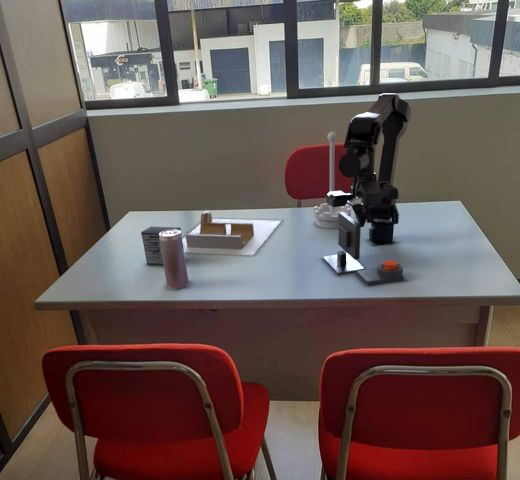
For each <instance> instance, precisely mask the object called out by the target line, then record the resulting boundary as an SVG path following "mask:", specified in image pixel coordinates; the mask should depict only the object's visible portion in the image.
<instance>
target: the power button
mask: <svg viewBox="0 0 520 480" xmlns="http://www.w3.org/2000/svg"><path fill="white" fill-rule="evenodd" d="M383 263H384V266H383V269H385V270H396V269H397V266H398V264H399V262H398V261H396V260H394V259H387V260H385V261H383Z"/></svg>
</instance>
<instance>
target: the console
mask: <svg viewBox="0 0 520 480" xmlns="http://www.w3.org/2000/svg"><path fill="white" fill-rule="evenodd" d="M383 266H384V262H383V263H380V264H378V266H377V267H374V268H365V270H359V271H357V272H356V275H355V276H357V277H358V278H359V279H360V280H361V281H362V282H363V283H364V284H365V285H366V286H367V287H371V286H377V285H383V284H391V283H396V282H402V281H404V278H405V277H404V274H403V273H404V266H403V265H402V264H401V263H398V266H397V269H396V270H385V269H383Z"/></svg>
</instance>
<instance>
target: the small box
mask: <svg viewBox="0 0 520 480" xmlns="http://www.w3.org/2000/svg"><path fill="white" fill-rule="evenodd" d="M172 229H175V230H179V231H180V232H181V235H182V229H181V227H178V226H177V227H173V226H150V227H148V228H146V229H144V230H142V231H141V232H140V234H141V238H142V244H143V249H144V255H145V261H146V265H147V266H154V267H164V264H163V258H162V252H161V246H160V240H159V233H160V232H162V231H165V230H172Z"/></svg>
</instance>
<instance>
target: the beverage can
mask: <svg viewBox="0 0 520 480" xmlns="http://www.w3.org/2000/svg"><path fill="white" fill-rule="evenodd" d="M181 234H182V231H181V232H180V231H179V230H175V229H172V230H165V231H162V232H160V233H159V240H160V246H161V252H162V258H163V264H164V266H163V269H164V275H165V281H166V286H167V287H168V288H170V289H171V290H172V289H173V290H180V289H184V288H185V287H187V286H188V284H189V276H188V270H187V262H186V256H185V255H186V254H185V252H184V247H183V241H182V239H183V236H182V235H181Z"/></svg>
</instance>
